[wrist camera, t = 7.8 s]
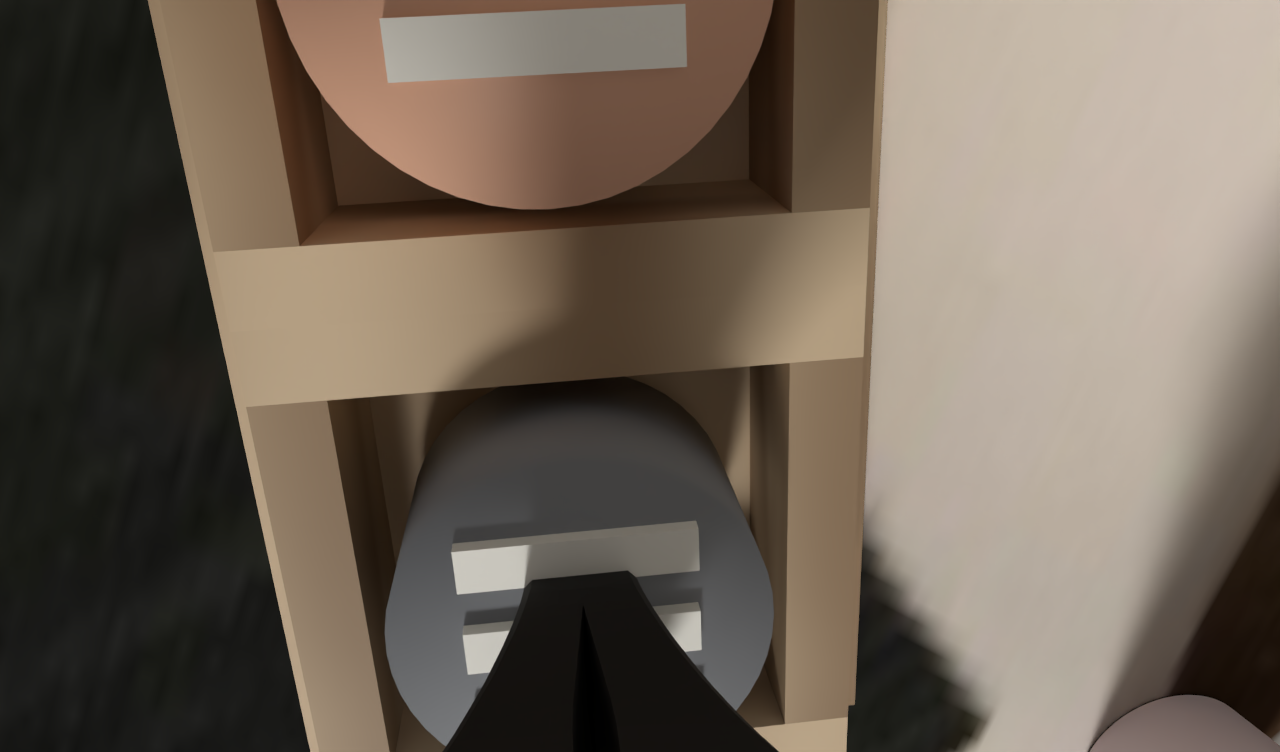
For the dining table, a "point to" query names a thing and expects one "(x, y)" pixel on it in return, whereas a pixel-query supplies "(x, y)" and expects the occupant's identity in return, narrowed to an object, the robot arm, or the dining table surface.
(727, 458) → the wooden compartment tray
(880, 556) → the dining table surface
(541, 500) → the charcoal button
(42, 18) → the dining table surface
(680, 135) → the terracotta button
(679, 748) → the robot arm
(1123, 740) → the smoothie
